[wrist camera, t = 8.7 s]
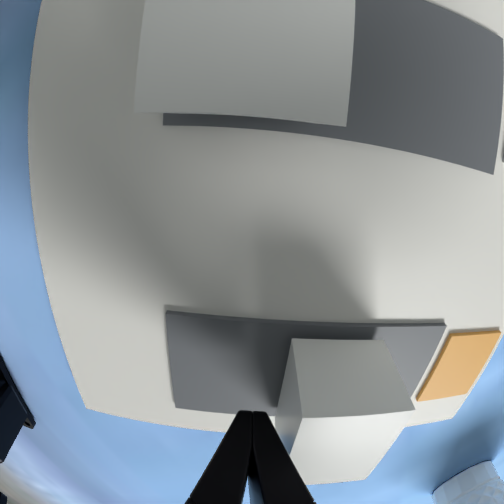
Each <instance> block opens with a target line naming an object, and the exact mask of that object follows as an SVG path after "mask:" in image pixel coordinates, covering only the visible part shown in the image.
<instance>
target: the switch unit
mask: <svg viewBox="0 0 504 504" xmlns="http://www.w3.org/2000/svg"><path fill="white" fill-rule="evenodd" d="M145 1H146V0H42V2H41V6H40V11H39V16H38V21H37V27H36V33H35V39H34V46H33V54H32V62H31V72H30V85H29V102H28V157H29V175H30V188H31V199H32V208H33V216H34V223H35V230H36V237H37V243H38V249H39V254H40V259H41V265H42V270H43V274H44V279H45V283H46V288H47V292H48V296H49V300H50V304H51V308H52V311H53V315H54V319H55V322H56V326H57V329H58V332H59V336H60V339H61V342H62V345H63V348H64V351H65V354H66V357H67V360H68V363H69V366H70V368H71V371H72V374H73V377H74V379H75V382H76V384H77V387H78V390H79V392H80V394H81V397H82V399H83V402H84V404H85V406H86V408H87V409H91V410H94V411H98V412H102V413H106V414H111V415H115V416H120V417H124V418H129V419H134V420H139V421H144V422H149V423H155V424H161V425H167V426H174V427H181V428H188V429H196V430H205V431H215V432H227V430H228V429H229V427H230V425H231V423H232V421H233V419H234V418H235V416H236V414H237V412H238V411H239V410H248V411H252V412H253V411H265V412H266V413H267V414H268V416H269V418H270V420H271V422H272V424H273V426H274V427H275V415H276V410H277V406H278V402H279V397H280V393H281V388H282V383H283V379H284V374H285V369H286V365H287V360H288V355H289V350H290V345H291V340H292V338H298V339H329V340H384V342H385V344H386V346H387V348H388V350H389V352H390V355H391V357H392V359H393V361H394V363H395V365H396V367H397V369H398V372H399V374H400V376H401V378H402V380H403V382H404V385H405V387H406V389H407V391H408V394H409V396H410V398H411V400H412V403H413V405H414V407H415V412H414V413H413V415H412V416H411V418H410V419H409V421H408V422H407V424H406V425H405V427H408V426H415V425H421V424H426V423H432V422H437V421H442V420H447V419H451V418H453V417H454V415H455V414H456V413H457V411H458V410H459V408H460V407H461V405H462V404H463V403H464V401H465V400H466V398H467V397H468V395H469V394H470V392H471V390H472V389H473V387H474V386H475V384H476V383H477V381H478V379H479V378H480V376H481V374H482V373H483V371H484V369H485V368H486V366H487V364H488V362H489V361H490V359H491V357H492V355H493V354H494V352H495V350H496V348H497V346H498V344H499V342H500V340H501V338H502V337H503V335H504V0H355V24H354V43H353V58H352V72H351V84H350V95H349V105H348V114H347V123H346V127H344V126H335V125H327V124H317V123H308V122H300V121H292V120H283V119H273V118H262V117H250V116H235V115H216V114H179V113H134V103H135V87H136V74H137V63H138V53H139V44H140V36H141V28H142V21H143V14H144V7H145Z"/></svg>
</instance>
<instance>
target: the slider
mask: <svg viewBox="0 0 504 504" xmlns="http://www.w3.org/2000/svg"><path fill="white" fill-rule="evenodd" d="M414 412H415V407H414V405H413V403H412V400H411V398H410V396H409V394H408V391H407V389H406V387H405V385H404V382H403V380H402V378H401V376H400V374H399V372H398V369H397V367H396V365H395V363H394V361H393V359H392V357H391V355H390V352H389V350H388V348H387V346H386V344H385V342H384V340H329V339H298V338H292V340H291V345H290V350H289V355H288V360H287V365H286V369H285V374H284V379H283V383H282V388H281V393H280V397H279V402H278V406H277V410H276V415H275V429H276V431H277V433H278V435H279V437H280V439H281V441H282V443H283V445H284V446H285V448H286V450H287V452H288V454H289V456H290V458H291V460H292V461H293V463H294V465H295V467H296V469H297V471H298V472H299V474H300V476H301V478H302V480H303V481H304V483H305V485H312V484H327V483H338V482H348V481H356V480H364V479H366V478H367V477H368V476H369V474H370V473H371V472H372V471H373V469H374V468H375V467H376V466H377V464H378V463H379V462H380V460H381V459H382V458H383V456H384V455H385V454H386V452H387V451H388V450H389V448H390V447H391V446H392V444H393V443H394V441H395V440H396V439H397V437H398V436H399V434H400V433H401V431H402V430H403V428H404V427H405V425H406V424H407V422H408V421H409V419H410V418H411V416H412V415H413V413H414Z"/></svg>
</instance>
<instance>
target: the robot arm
mask: <svg viewBox="0 0 504 504" xmlns="http://www.w3.org/2000/svg"><path fill="white" fill-rule="evenodd" d="M35 424H36V422H35V421H34V419H33V417H32V416H31V414H30V412H29V411H28V409H27V407H26V405H25V404H24V402H23V400H22V398H21V396H20V395H19V393H18V391H17V389H16V387H15V385H14V383H13V381H12V379H11V377H10V375H9V373H8V371H7V369H6V367H5V365H4V363H3V361H2V359H1V357H0V463H3V462H4V460H5V458H6V456H7V454H8V452H9V450H10V448H11V446H12V444H13V443H14V441H15V439H16V437H17V435H18V433H19V431H20V429H21V428H22V426H23V425H24V426H26V427H28V428H31V429H33V428H34V426H35ZM247 477H248V485H249V495H250V504H316V502H313V501H314V499H313V497H312V496H311V494H310V492H309V490H308V489H307V487H306V485H305V483H304V481H303V480H302V478H301V476H300V474H299V472H298V471H297V469H296V467H295V465H294V463H293V461H292V460H291V458H290V456H289V454H288V452H287V450H286V448H285V446H284V445H283V443H282V441H281V439H280V437H279V435H278V433H277V431H276V429H275V427H274V426H273V424H272V422H271V420H270V418H269V416H268V414H267V413H266V412H265V411H253V412H252V411H248V410H239V411H238V412H237V414H236V416H235V418H234V419H233V421H232V423H231V425H230V427H229V429H228V430H227V432H226V434H225V436H224V438H223V439H222V441H221V443H220V445H219V447H218V448H217V450H216V452H215V454H214V455H213V457H212V459H211V461H210V462H209V464H208V466H207V467H206V469H205V471H204V473H203V474H202V476H201V478H200V479H199V481H198V483H197V484H196V486H195V488H194V489H193V491H192V493H191V494H190V498H188V499H187V501H186V502H185V504H242V502H243V497H244V492H245V487H246V482H247ZM0 504H7V496H5V495H4V494H3V493H1V492H0Z"/></svg>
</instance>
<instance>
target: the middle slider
mask: <svg viewBox="0 0 504 504" xmlns="http://www.w3.org/2000/svg"><path fill="white" fill-rule="evenodd" d="M354 24H355V0H146V1H145V7H144V14H143V21H142V28H141V36H140V44H139V53H138V63H137V74H136V87H135V103H134V113H179V114H216V115H235V116H250V117H262V118H273V119H283V120H292V121H300V122H308V123H317V124H327V125H335V126H344V127H346V123H347V114H348V105H349V95H350V84H351V72H352V58H353V43H354Z"/></svg>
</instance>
